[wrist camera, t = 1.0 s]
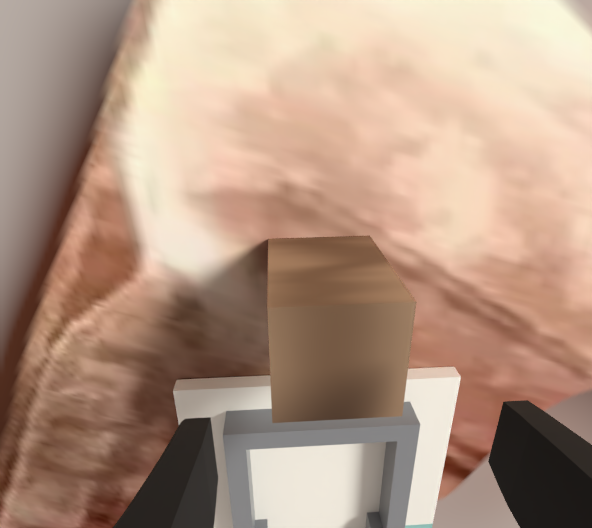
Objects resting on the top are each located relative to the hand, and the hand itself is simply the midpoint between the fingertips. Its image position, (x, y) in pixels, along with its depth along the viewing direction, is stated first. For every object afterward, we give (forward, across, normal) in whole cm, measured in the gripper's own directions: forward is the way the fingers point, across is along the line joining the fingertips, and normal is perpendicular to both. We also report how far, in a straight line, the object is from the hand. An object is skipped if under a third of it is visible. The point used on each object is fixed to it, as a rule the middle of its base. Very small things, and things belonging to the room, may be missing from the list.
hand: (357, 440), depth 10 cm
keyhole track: (+9, 0, +15) cm, 17 cm away
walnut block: (+9, 0, 0) cm, 9 cm away
